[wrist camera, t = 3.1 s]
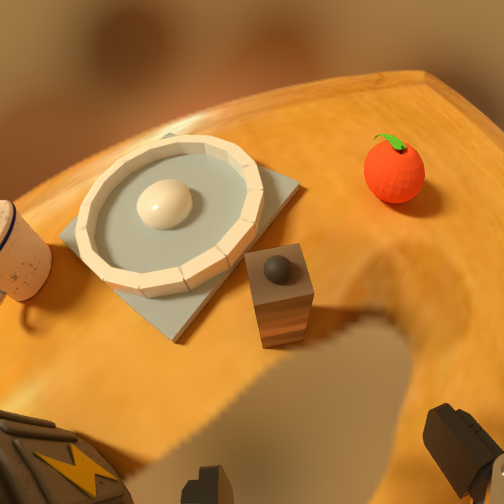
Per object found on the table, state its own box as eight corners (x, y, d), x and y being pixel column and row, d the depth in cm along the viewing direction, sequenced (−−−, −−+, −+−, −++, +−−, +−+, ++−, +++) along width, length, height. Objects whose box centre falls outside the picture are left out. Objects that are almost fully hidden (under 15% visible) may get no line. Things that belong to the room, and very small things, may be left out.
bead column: (255, 311, 26) (241, 242, 17) (294, 303, 27) (300, 231, 17) (262, 348, 25) (251, 296, 16) (302, 340, 25) (316, 283, 16)
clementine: (343, 174, 34) (351, 125, 28) (387, 162, 35) (399, 117, 29) (380, 224, 30) (398, 176, 24) (425, 206, 31) (446, 162, 25)
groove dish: (170, 137, 41) (165, 121, 39) (299, 188, 34) (300, 168, 31) (62, 240, 33) (50, 226, 31) (175, 343, 25) (163, 333, 23)
